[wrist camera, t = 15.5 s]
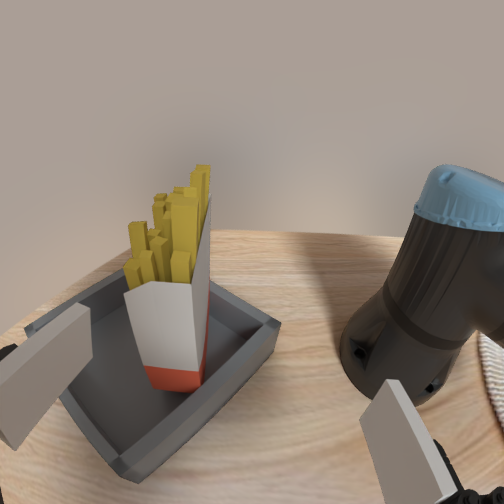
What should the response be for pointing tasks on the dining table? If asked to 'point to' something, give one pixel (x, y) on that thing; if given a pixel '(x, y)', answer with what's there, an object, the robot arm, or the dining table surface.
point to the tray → (139, 386)
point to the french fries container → (172, 286)
